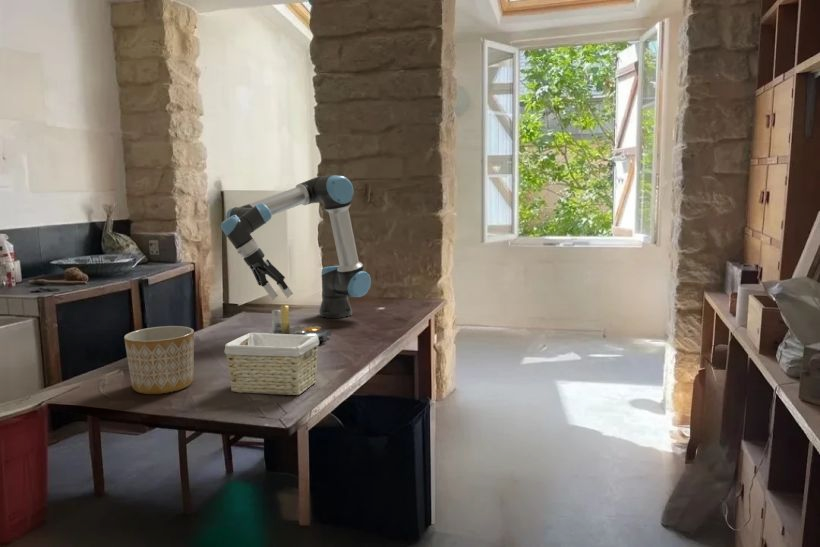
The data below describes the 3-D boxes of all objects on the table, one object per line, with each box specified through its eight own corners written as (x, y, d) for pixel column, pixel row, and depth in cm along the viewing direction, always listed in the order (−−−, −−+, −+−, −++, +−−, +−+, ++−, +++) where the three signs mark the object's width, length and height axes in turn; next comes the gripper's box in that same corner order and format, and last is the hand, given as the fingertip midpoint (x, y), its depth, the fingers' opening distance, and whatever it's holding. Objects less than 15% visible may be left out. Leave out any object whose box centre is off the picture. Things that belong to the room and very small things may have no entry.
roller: (282, 333, 254) (281, 309, 253) (283, 335, 251) (282, 311, 249) (272, 334, 253) (271, 310, 252) (273, 336, 250) (272, 311, 248)
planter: (195, 393, 181) (192, 337, 179) (123, 400, 176) (119, 343, 174) (198, 374, 200) (195, 324, 197) (133, 380, 194) (129, 328, 192)
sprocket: (325, 328, 256) (324, 295, 254) (336, 341, 234) (334, 305, 232) (267, 333, 249) (266, 299, 247) (273, 347, 227) (271, 310, 225)
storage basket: (224, 393, 181) (221, 343, 179) (251, 376, 197) (249, 331, 195) (300, 399, 175) (298, 347, 173) (322, 381, 191) (320, 334, 189)
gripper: (231, 261, 247) (262, 304, 253) (256, 254, 227) (289, 300, 233) (246, 251, 251) (276, 293, 257) (271, 243, 231) (303, 288, 237)
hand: (282, 296), depth 245 cm, fingers open, 13 cm apart
